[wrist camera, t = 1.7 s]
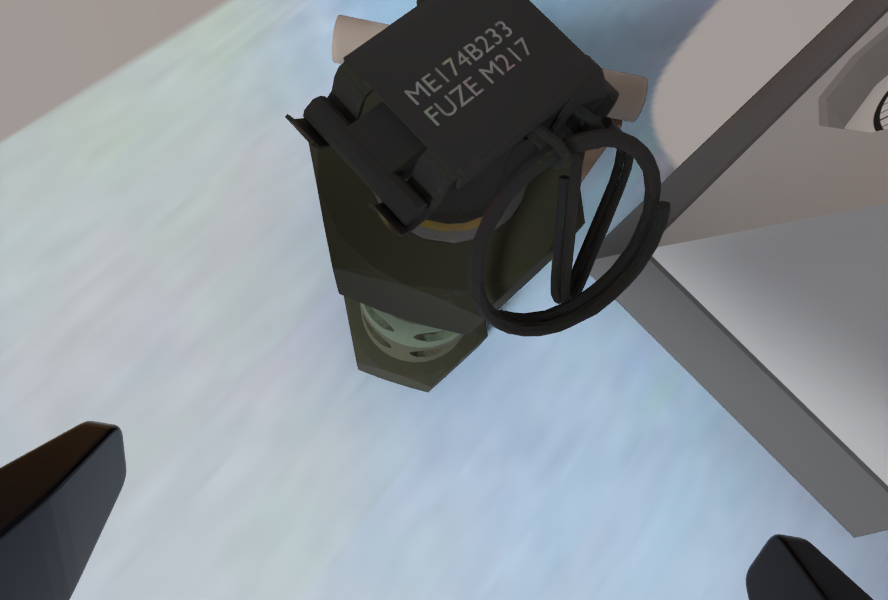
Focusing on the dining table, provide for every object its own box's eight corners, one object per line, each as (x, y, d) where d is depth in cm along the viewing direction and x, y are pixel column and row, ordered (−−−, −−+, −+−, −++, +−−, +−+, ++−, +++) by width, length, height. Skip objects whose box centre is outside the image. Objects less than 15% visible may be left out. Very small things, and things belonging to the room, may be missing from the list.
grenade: (446, 202, 23) (561, -256, 8) (558, 321, 22) (906, 48, 7) (308, 315, 21) (148, -6, 7) (425, 446, 20) (535, 414, 6)
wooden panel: (566, 213, 23) (646, 106, 16) (346, 171, 22) (330, 42, 16) (569, 184, 23) (649, 68, 16) (352, 143, 23) (339, 4, 16)
